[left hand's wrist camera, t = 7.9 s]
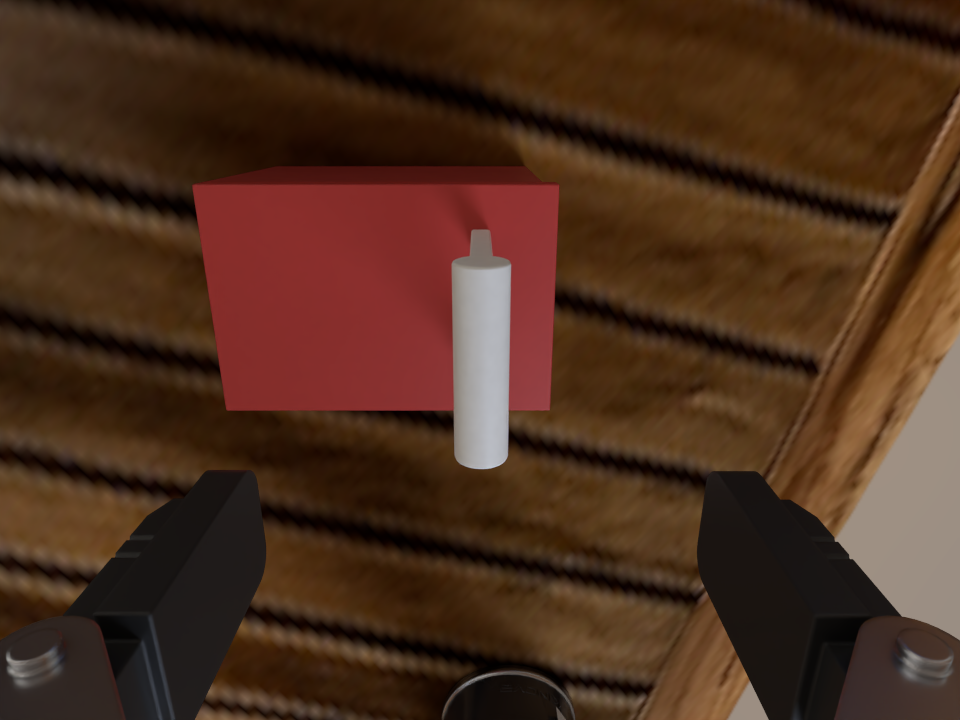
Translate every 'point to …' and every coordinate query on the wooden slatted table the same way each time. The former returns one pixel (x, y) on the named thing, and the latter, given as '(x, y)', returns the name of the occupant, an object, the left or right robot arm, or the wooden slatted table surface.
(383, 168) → the chest
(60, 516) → the wooden slatted table surface
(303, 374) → the lid
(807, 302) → the wooden slatted table surface
